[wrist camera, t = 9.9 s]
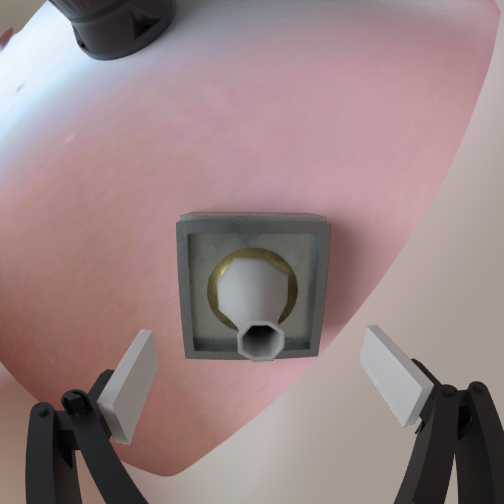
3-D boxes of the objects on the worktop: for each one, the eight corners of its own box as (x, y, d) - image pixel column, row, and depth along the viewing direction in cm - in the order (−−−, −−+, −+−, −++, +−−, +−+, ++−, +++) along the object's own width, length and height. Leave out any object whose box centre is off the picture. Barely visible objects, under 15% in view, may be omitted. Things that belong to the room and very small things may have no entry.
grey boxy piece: (190, 212, 31) (176, 217, 23) (309, 213, 32) (330, 218, 24) (195, 330, 34) (186, 362, 26) (302, 329, 34) (317, 359, 27)
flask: (299, 267, 26) (333, 306, 16) (274, 331, 28) (292, 392, 18) (228, 245, 25) (222, 274, 16) (207, 313, 27) (193, 371, 17)
